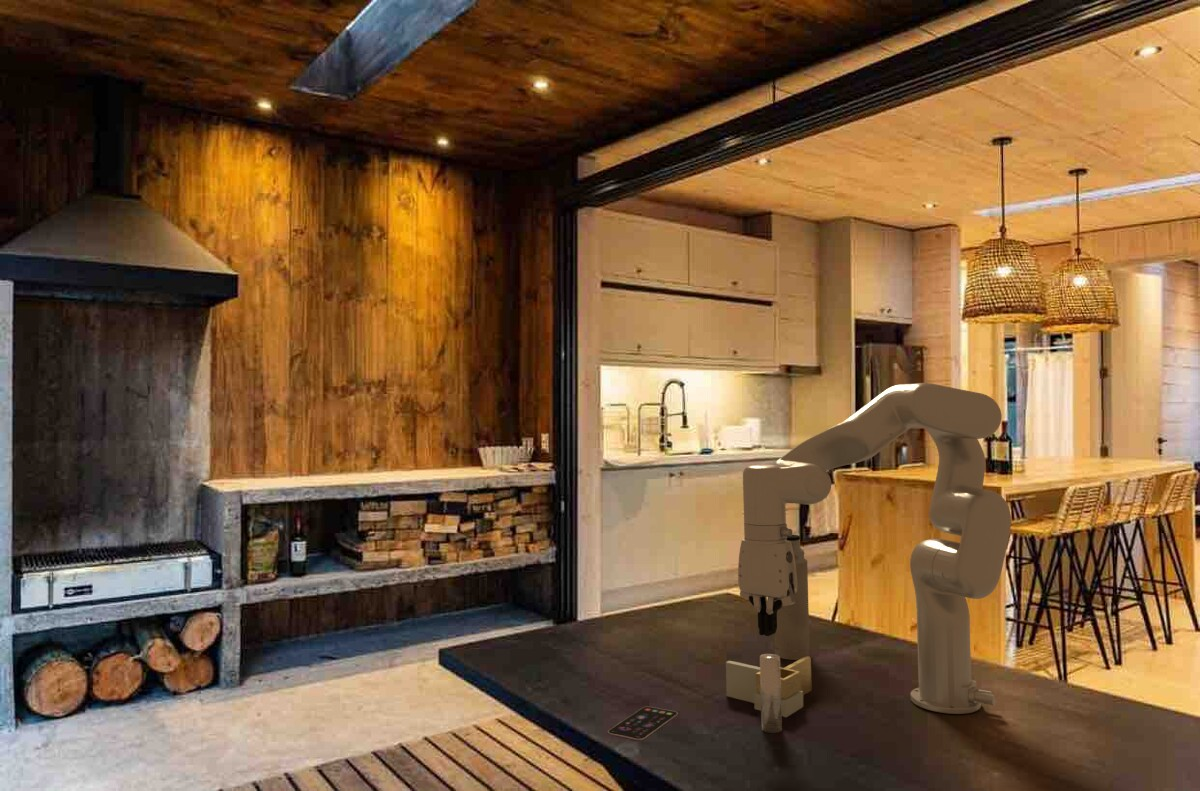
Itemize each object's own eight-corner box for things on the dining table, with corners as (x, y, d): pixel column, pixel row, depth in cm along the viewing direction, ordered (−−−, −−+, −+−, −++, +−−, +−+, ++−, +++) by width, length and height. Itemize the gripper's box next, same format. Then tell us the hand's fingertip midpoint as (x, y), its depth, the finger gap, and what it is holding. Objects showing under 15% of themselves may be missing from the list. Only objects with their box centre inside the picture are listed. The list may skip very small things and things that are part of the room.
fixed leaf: (823, 693, 164) (822, 659, 164) (785, 716, 152) (784, 680, 152) (795, 686, 168) (794, 653, 168) (756, 708, 156) (755, 673, 156)
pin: (785, 728, 146) (783, 656, 146) (775, 734, 143) (773, 661, 144) (767, 723, 148) (765, 652, 149) (757, 729, 146) (756, 657, 146)
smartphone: (679, 712, 154) (641, 739, 142) (679, 715, 154) (641, 743, 142) (645, 705, 158) (605, 732, 146) (645, 708, 158) (605, 735, 146)
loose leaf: (803, 706, 156) (802, 671, 157) (786, 717, 151) (785, 680, 151) (737, 690, 166) (736, 657, 166) (719, 699, 161) (718, 665, 161)
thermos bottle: (772, 649, 194) (770, 532, 194) (806, 649, 193) (803, 532, 193) (776, 659, 186) (773, 537, 186) (812, 660, 185) (809, 537, 186)
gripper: (812, 533, 145) (815, 636, 145) (740, 527, 155) (743, 623, 155) (792, 539, 139) (795, 646, 139) (719, 532, 149) (721, 631, 149)
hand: (767, 633), depth 147 cm, fingers closed
